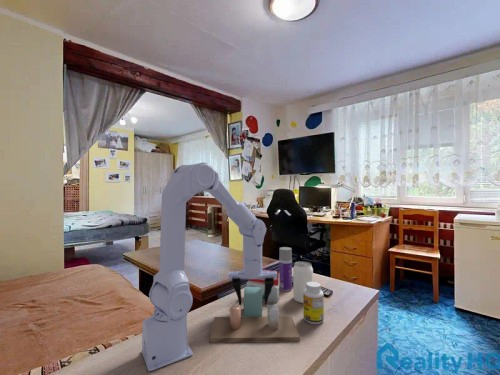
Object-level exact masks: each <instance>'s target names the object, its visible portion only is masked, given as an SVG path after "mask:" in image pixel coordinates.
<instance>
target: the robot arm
mask: <svg viewBox="0 0 500 375" xmlns="http://www.w3.org/2000/svg"><path fill="white" fill-rule="evenodd" d="M201 192H206V193H209V194H210V195H211V196H212V197H213V198H214V199H215V200H216V201H217V202H218V203H220V205H222V206H223V207H224V208H225V209H226V215H227V216H228V218H229V219H230V221H232V222H233V223H234V224H235V225H236V226H237V227H238V232H239V234H240V235H241V236H243V237H242V239H243V241H242V242H243V243H242V249H243V253H242V254H243V255H242V256H243V259H242V261H243V265H242V266H243V270H235V271H228V281H231V284H232V287H233V289H234V291H235V293H236V294H235V295H236V297H237V300H238V305H239V306H241V305H242V290H241V288H242V286H241V285H242V284H241V283H242V281H241V280H249V279H264V282H265V292H264V302H263V303H264V305H268V302H269V301H268V296H269V293H270V291H271V289H272V287H273V285H274V281H273V280H277V272H276V271H277V270H272V271H265V270H266V269H265V270H262V269H263V244H264V242H265V240H264V238H265V236H266V233H267V227H266V224H265V222H264V221H263V220H262V219H260V218H257V217H256V214H255V213H254V212H252V211H251V209H249V207H248V205H247V203H246V202H244V201H240V200H238V201H237V200H236V199H235V197H234V196H233V195H232V194H231V192H230V191H229V189H228V188H227V187H226V186H225V185H224V184H223V182H222V181H221V178H220V175H219V173H218V172H217V171H216V170H215V169H214V168H213V166H212V165H211V164H209V163H207V162H199V163H191V164H181V165H179V166H178V167H176V168H175V169H174V170H172V171H171V172H170V178H169V180H168V181H167V183H166V185H165V187H164V189H163V190H162V192H161V208H160V209H161V210H160V213H161V215H160V243H159V271H158V272H157V273H156V274H154V275H153V282H152V286H151V287H150V290H149V293H148V296H149V298H148V299H149V301H150V303H151V304H152V305H154V306H153V314H152V315H151V316H149V317H147V318H145V319H143V320H142V324H141V325H142V326H141V329H142V330H141V331H142V332H141V335H142V337H141V338H142V340H141V343H142V344H141V345H142V346H141V347H142V348H141V354H142V356H143V360H144V362H145V364H146V367H147V370H148V372H151V371H154V370H157V369H160V368H162V367H165V366H168V365H170V364H173V363H175V362H178V361H182V360H184V359H187V358H189V357H192V356H193V355H194V351H193V350H192V348H191V347H190V345H189V344H188V340H187V338H188V336H187V335H188V334H187V332H188V328H187V327H188V326H187V325H188V324H187V323H188V321H187V320H188V319H187V318H188V313H189V311H190V310H191V308H192V306H193V300H194V298H193V294H192V292H191V290H190V289H191V287H190V280H189V278H188V276H187V274H186V272H185V253H186V252H185V250H186V217H187V216H186V214H187V202H189V200H191V199H192V198H193V197H194V196H195V195H196V194H199V193H201Z"/></svg>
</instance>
